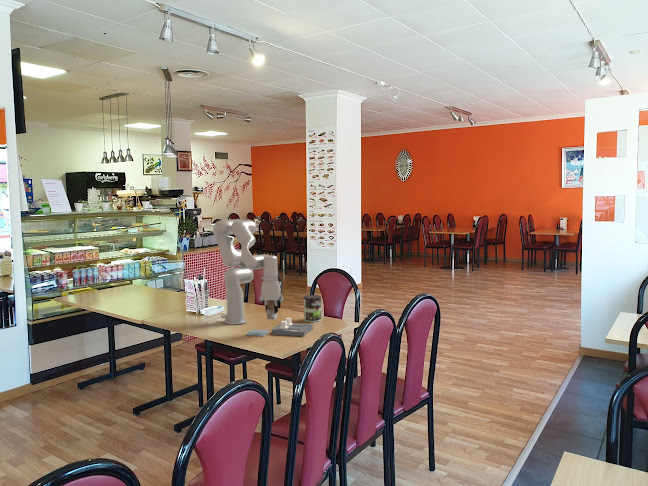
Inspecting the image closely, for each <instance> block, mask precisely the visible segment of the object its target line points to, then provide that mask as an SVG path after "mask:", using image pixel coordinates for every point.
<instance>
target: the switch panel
mask: <svg viewBox="0 0 648 486" xmlns="http://www.w3.org/2000/svg"><path fill="white" fill-rule="evenodd" d="M292 323H293V325H291V326H289V328H287V329H279V328H280V327H281V323H279V324H278V325H276V326H274V328H272V329H271V335H273V334H275V335H277V336H287V335H291V336H290V337H301V336H304V337H306V334H307V333H308V332H309V333H310V332H311V331H313V329H314V325H313V323H312V324H311V323H308V324H307V323H296V322H295V323H294V322H292ZM309 333H308V334H309ZM308 334H307V335H308Z"/></svg>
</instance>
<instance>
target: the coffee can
mask: <svg viewBox="0 0 648 486" xmlns="http://www.w3.org/2000/svg"><path fill="white" fill-rule="evenodd" d="M303 321H304V322H306V323H317V322H321V321H322V296H321V295H317V294H308V295H304V296H303Z"/></svg>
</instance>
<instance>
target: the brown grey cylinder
mask: <svg viewBox="0 0 648 486" xmlns="http://www.w3.org/2000/svg"><path fill="white" fill-rule="evenodd" d="M274 306H275V302H274V301H269V300H267V313H266V317H267V320H276V319H277V318H278V312H277V313H274Z"/></svg>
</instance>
